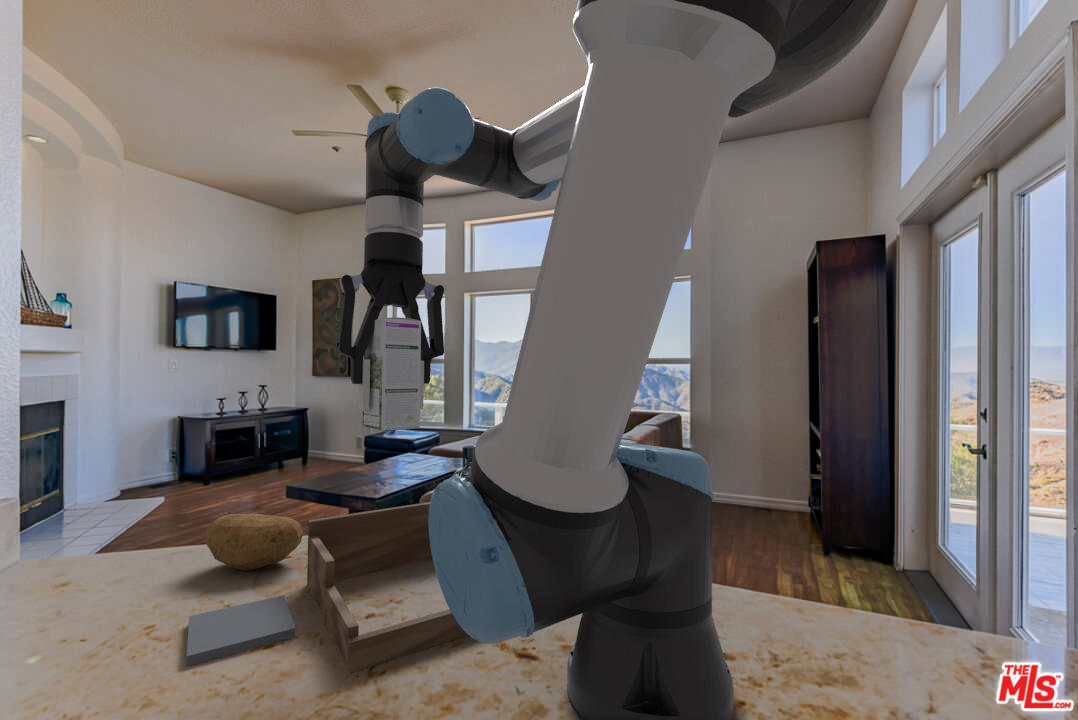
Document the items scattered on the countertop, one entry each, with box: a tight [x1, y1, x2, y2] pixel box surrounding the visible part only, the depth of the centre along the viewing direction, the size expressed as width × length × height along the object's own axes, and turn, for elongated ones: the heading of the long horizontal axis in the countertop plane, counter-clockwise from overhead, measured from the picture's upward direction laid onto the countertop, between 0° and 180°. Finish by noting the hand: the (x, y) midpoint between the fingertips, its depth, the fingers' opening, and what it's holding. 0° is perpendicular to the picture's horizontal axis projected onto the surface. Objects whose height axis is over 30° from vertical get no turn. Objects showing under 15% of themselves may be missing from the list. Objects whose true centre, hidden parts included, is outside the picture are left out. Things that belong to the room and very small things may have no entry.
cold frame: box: [306, 501, 469, 674], centre depth 66 cm, size 25×25×9 cm
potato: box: [204, 513, 304, 571], centre depth 76 cm, size 10×14×8 cm
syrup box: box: [361, 316, 422, 431], centre depth 65 cm, size 6×6×14 cm
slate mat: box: [186, 594, 296, 667], centre depth 57 cm, size 10×10×1 cm
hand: (391, 408), depth 65 cm, fingers closed on syrup box, 6 cm apart
